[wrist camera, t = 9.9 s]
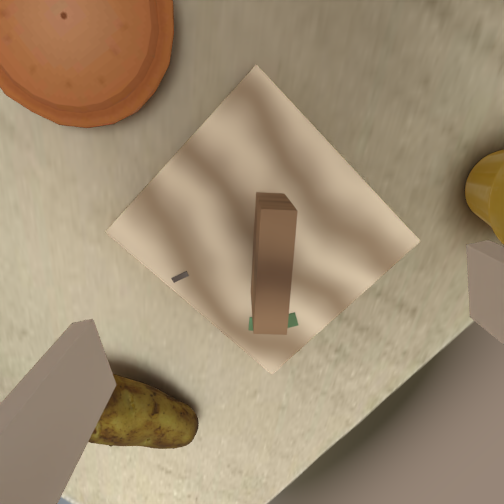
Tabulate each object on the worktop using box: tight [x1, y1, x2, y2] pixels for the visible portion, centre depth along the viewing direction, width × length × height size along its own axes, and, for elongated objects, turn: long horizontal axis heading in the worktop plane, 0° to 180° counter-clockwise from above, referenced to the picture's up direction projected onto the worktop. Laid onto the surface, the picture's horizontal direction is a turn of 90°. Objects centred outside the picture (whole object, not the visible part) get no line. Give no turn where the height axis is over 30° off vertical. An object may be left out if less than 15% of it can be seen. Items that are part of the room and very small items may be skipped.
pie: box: [0, 0, 174, 128], centre depth 31 cm, size 15×16×5 cm
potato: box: [88, 374, 198, 449], centre depth 40 cm, size 8×13×8 cm, turn 37°
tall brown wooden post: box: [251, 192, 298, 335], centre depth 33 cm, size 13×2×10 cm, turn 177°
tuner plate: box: [105, 64, 420, 374], centre depth 38 cm, size 20×22×2 cm
